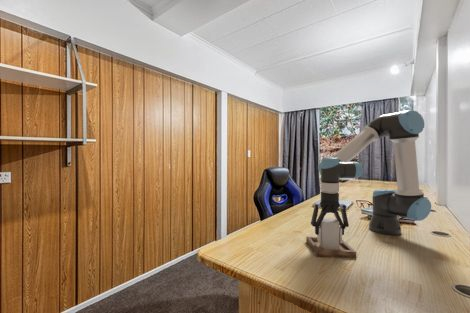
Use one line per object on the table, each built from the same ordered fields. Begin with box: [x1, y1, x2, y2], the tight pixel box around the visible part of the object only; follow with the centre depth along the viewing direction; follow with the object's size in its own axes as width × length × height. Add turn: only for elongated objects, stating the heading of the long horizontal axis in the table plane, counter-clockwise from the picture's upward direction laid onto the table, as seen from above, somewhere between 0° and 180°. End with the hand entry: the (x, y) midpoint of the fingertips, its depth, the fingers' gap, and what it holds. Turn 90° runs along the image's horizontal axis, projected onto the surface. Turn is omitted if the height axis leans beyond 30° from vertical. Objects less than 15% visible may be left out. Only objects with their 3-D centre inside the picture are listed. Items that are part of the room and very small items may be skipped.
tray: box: [305, 236, 357, 259], centre depth 100 cm, size 16×16×2 cm
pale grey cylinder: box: [319, 217, 340, 250], centre depth 100 cm, size 8×8×12 cm
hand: (329, 241), depth 100 cm, fingers open, 9 cm apart
